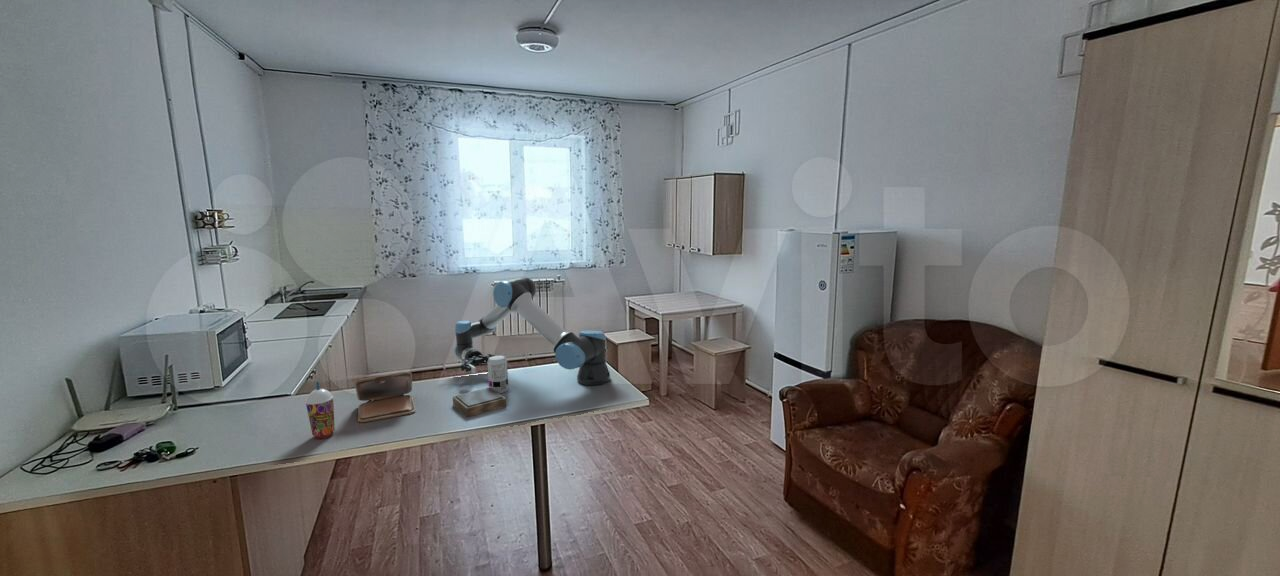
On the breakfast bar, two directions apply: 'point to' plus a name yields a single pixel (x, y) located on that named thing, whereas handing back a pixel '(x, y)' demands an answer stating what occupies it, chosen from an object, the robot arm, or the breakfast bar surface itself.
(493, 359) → the supplement can
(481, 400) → the podium
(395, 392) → the case
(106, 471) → the breakfast bar surface
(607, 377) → the robot arm
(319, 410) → the smoothie
